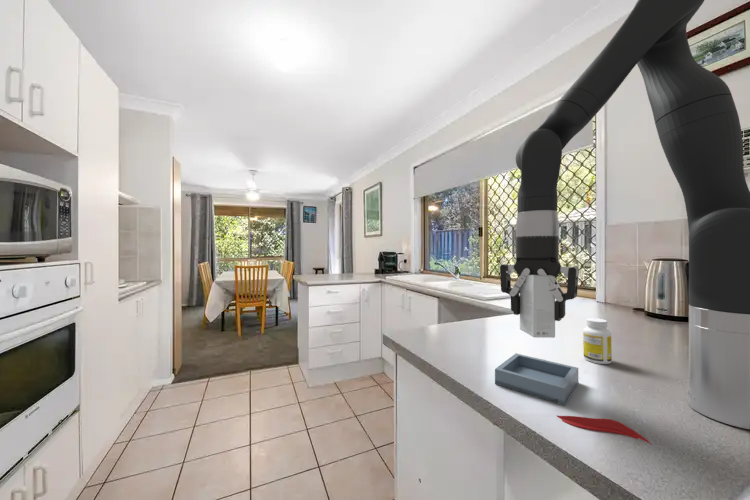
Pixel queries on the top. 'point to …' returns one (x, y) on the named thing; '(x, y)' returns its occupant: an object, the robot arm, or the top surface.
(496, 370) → the tray
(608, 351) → the supplement bottle
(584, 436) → the top surface
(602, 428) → the cayenne pepper
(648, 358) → the top surface
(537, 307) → the skincare box
